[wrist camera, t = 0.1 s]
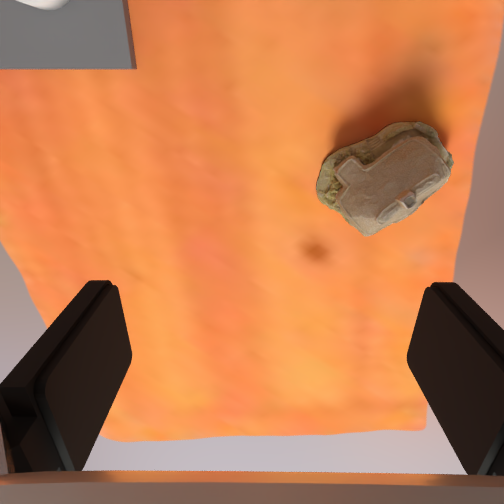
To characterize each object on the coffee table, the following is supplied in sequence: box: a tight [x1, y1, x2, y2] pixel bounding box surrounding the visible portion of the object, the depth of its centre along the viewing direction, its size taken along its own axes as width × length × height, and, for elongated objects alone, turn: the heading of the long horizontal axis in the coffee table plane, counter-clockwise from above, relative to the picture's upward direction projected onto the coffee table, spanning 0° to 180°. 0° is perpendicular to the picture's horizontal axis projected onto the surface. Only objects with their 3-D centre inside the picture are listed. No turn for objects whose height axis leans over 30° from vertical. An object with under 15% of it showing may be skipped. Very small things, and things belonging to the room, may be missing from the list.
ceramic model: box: [316, 121, 454, 236], centre depth 35 cm, size 14×11×10 cm
